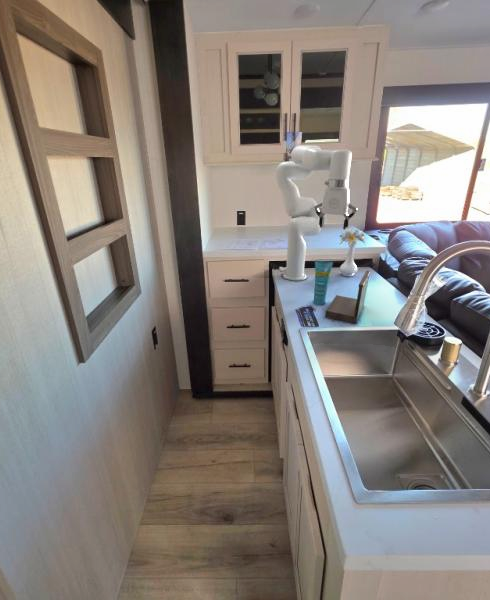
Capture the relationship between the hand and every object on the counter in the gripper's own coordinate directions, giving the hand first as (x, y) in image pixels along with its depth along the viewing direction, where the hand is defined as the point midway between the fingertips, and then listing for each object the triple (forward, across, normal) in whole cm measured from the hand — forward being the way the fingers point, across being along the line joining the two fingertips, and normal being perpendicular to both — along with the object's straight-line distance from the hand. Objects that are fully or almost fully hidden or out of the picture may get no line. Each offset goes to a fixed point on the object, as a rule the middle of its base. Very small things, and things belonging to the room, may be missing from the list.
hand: (333, 228), depth 131 cm
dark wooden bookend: (+32, +11, -9) cm, 35 cm away
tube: (+32, -1, -6) cm, 33 cm away
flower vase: (+32, +1, +40) cm, 51 cm away
